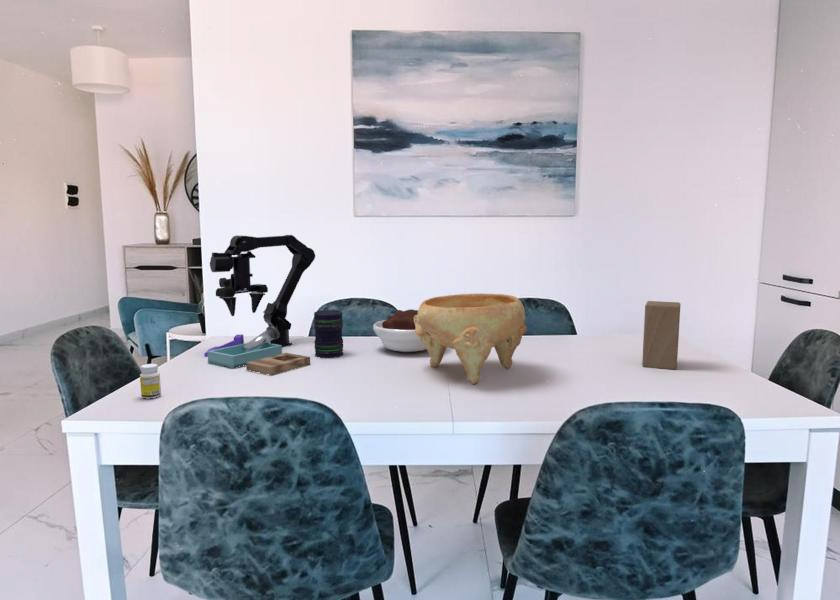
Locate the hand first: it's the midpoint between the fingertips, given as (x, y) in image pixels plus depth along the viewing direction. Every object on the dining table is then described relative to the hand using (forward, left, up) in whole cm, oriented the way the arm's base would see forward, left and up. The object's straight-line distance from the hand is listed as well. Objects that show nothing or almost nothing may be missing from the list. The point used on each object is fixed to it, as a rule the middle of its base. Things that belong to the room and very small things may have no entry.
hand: (243, 314), depth 205 cm
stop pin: (+9, +13, -10) cm, 19 cm away
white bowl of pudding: (-33, +49, -13) cm, 61 cm away
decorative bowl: (-19, +82, -13) cm, 85 cm away
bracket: (+8, 0, -14) cm, 16 cm away
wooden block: (-60, +129, -13) cm, 143 cm away
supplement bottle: (+51, +26, -13) cm, 59 cm away
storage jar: (-11, +31, -13) cm, 36 cm away
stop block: (+11, +30, -13) cm, 34 cm away
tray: (+10, +13, -13) cm, 21 cm away
